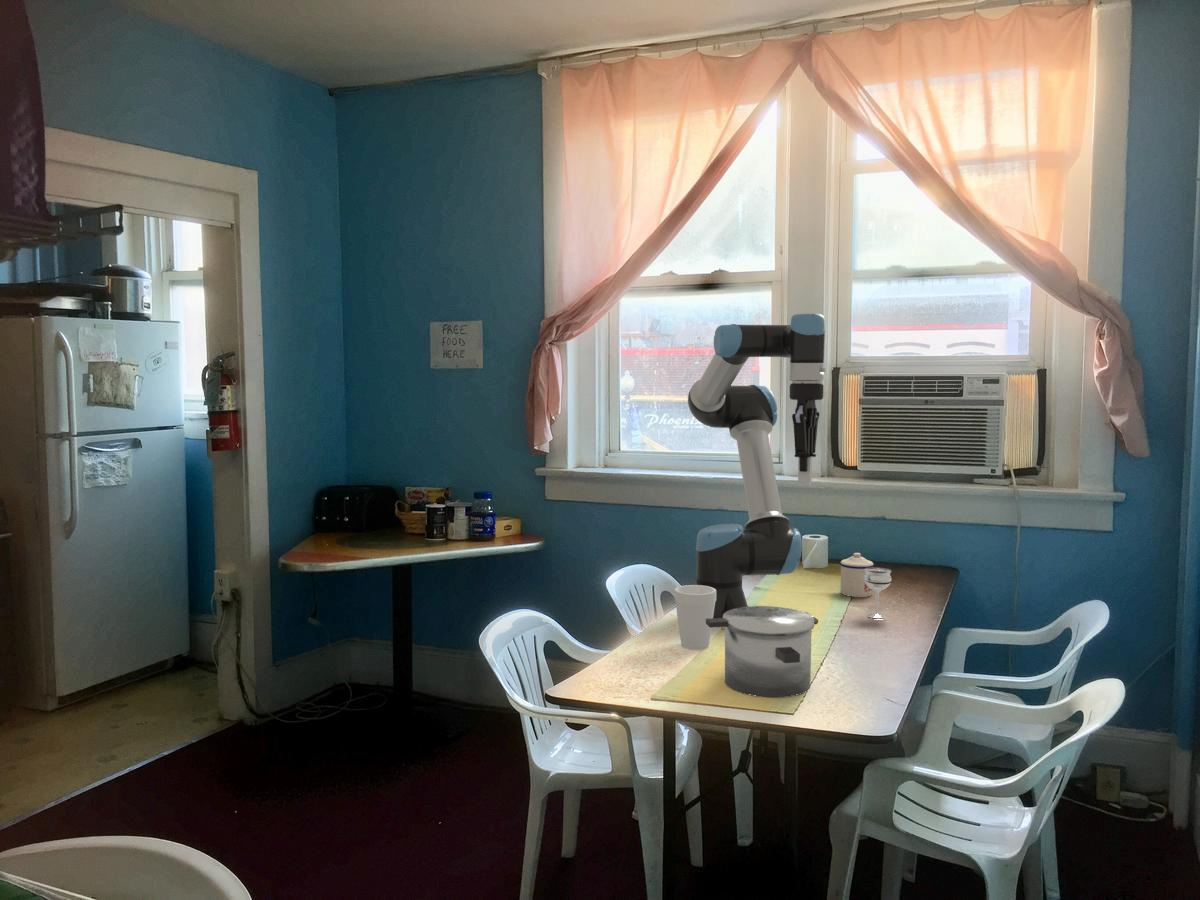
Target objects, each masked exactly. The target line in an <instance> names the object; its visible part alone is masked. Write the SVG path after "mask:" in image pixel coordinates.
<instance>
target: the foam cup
mask: <svg viewBox="0 0 1200 900" xmlns="http://www.w3.org/2000/svg"><path fill="white" fill-rule="evenodd" d="M674 601H675V606H676V613H677V622H678V629H679V631H678V632H679V638H680V645H681V647H682V648H684V649H686V650H695V651H697V650H698V651H700V650H706V649H708V648H709V647H710V643H711V641H710V640H711V636H712V635H711V634H712V629H713V628H710V627H709V626H708V625H707V624H706V619H709V618H713V615H714V608H715V601H716V589H715V588H712V587H709V586H702V585H696V584H690V585H689V584H688V585H687V584H686V585H681V586H680V585H679V586H677V587H675V588H674Z"/></svg>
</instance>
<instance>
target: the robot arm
mask: <svg viewBox="0 0 1200 900" xmlns="http://www.w3.org/2000/svg"><path fill="white" fill-rule="evenodd" d="M825 325H826V324H825V317H824V315H822V314H821V313H797V314H793V315H792V316H791V318H790V324H736V323H730V324H721V325H719V326H717V327H716V328H715V331H714V335H713V349H714V354H713V356H712V358H711V360H710V362H709V364H708V366H707V367H706V369H705V370H704V372H703V374H702V376H701V378H700V379H699V380H697V381H695V382H694V383H693V385H692V386H691V387H690V390H689V392H688V395H687V405H688V408H689V411H690V412H691V414H692V415H693V417H694V418H695V419H696V420H697V421H698V422H700V423H701V424H703V425H704V426H706V427H707V426H708V427H710V428H714V429H715V428H716V429H717V428H718V429H721V428H722V429H724V428H725V429H729V435H730V437H731V438H732V439H734V440H735V441H736V442H737V443H736V445H737V449H738V450H737V451H738V457H739V463H740V468H741V469H740V470H741V475H742V481H743V488H744V494H745V500H746V507H747V513H748V521H747V522H746V523H745V525H744V528H743V525H742V524H739V523H719V524H714V525H713V524H712V525H709V526H706V527H704V528H701V529H700V530H699V531H698V533H697V536H696V544H695V551H696V556H695V557H696V559H695V560H696V562H695V563H696V565H695V566H696V567H695V568H696V570H695V571H696V580H695V581H696V582H695V583H696V584H695V585H702V586H709V587H712V588H715V589H716V601H715V608H714V615H713V618H723V614H724V613H725V612H727V611H729V610H732V609H736V608H741V607H749V605H748V602H747V599H746V595H745V593H744V588H743V577H744V576H767V575H768V576H770V575H772V576H773V575H776V576H780V575H785V574H787V575H788V574H792V573H794V572H795V571H796V570H797V568H798V566H799V564H800V560H801V556H802V551H803V550H802V549H803V548H802V547H803V546H802V545H803V542H802V535H801V532H800V531H799V529H798V528H795V527H792V528H791V524H790V519H789V518H788V517H787V516H785V515H784V514H783V511H782V506H781V500H780V499H781V498H780V496H779V495H780V494H779V489H778V483H777V478H776V472H775V467H774V461H773V455H772V450H771V449H772V448H771V443H770V438H769V435H770V434H771V433H772V431H773V427H774V426H775V425H776V423H777V421H778V405H777V400H776V398H775V395H774V393H773V392H772V390H771V389H770V388H768V386H764V385H756V384H750V385H733V383H734V382H735V380H736V378H737V376H738V375H739V373H740V371H741V370H742V369H743V366H745V363H746V362H747V361H748V359H749V358H789V359H790V360H789V381H790V382H791V383H790V384H789V398H790V400H793V401H794V400H795V401H797V402H796V407H795V409H794V413H792V415H791V417H792V424H793V437H794V453H795V454H794V457H795V458H798V460H797V461H798V462H797V463H798V464H797V466H798V467H797V468H798V469H797V470H798V471H797V472H798V473H797V477H798V478H797V485H798V486H799V487H800V486H803V487H811V486H812V483H813V482H812V481H813V479H812V478H813V476H812V475H813V470H812V469H813V458H816V457H817V454H816V449H817V448H816V446H817V437H818V436H817V435H818V425H819V424H818V423H819V418H820V412H819V411H818V408H817V406H816V401H821V400H823V399H824V388H825V387H824V384H823V383H821V382H822V381H824V373H825V372H826V371H827V369H826V367H825V366H824V365H825V364H824V363H825V337H826V335H825V333H826V326H825Z"/></svg>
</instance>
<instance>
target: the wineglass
mask: <svg viewBox="0 0 1200 900" xmlns="http://www.w3.org/2000/svg"><path fill="white" fill-rule="evenodd" d="M864 570H865V572H866V573H865V575H864V581H865V584H866V585H867V586H868V587H869V588H871V589H872V591H873V592H874V593H875V613H870V614H867V615H868V616H870V617H873V618H884V617H885V616H886V615H884V614H881V613H879V612H878V611H879V596H880V593H881V591H883V590H886V589H887V588H888V587H889V586H890V585H891V584H892V576H891V573H892V570H891V569H889V568H884V567H883V568H882V567H873V568H866V569H864Z"/></svg>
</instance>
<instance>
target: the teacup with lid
mask: <svg viewBox="0 0 1200 900" xmlns="http://www.w3.org/2000/svg"><path fill="white" fill-rule="evenodd" d="M861 555H862V554H861V553H860V552H854V553H853V555H852V556H850V557H848V558H846V559H845V558H844V559H842V560H841V561H840V563H839V564H840V565H839V566H840V594H841V593H842V594H841V595H843V594H845V595H849V596H852V597H851V598H868V596H869V597H871V596H872V595H873V589H871V588H869V587H868V586H867V585H866V584H865V581H864V575H865V573H866V572H865V570H864V569H866V568H874V566H875V565H874V562H873V561H871V560H868V559H866V558H865V557H864V556H861ZM845 595H844V596H845ZM849 596H848V597H849Z"/></svg>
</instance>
